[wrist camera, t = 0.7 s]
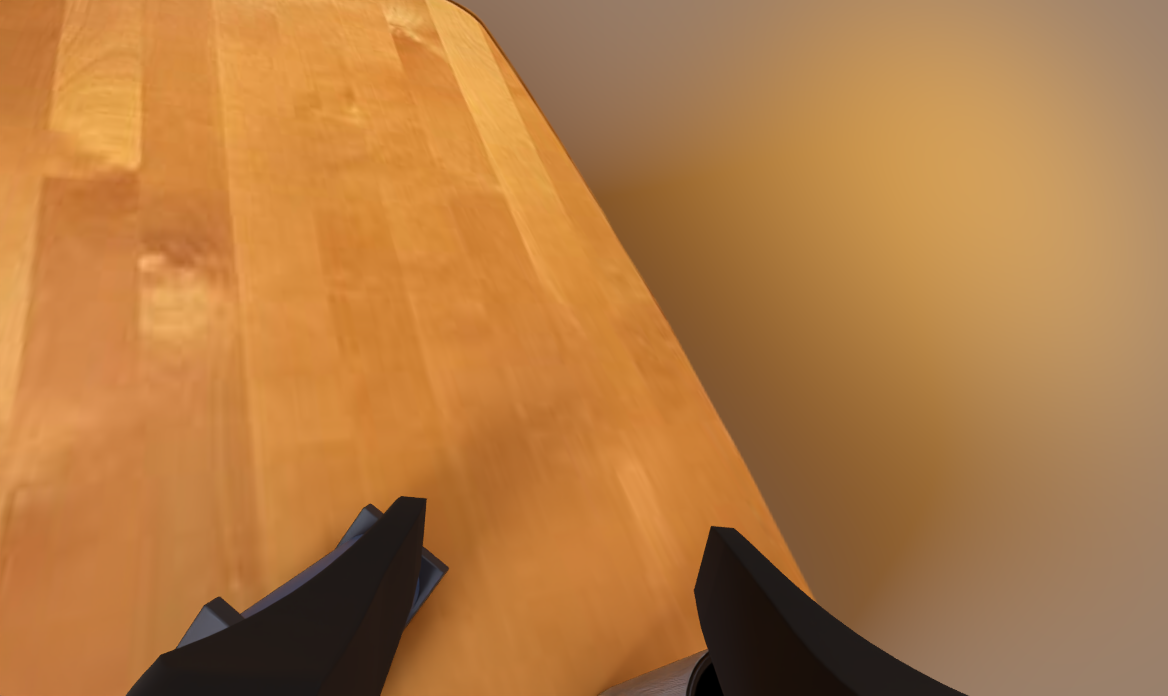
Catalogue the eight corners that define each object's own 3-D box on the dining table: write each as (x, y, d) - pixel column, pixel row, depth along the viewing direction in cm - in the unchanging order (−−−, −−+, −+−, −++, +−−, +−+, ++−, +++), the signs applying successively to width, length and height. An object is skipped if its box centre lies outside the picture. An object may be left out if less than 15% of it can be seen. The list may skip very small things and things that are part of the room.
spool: (258, 812, 22) (229, 817, 15) (168, 730, 22) (101, 699, 15) (438, 589, 28) (476, 520, 21) (365, 529, 28) (380, 442, 21)
